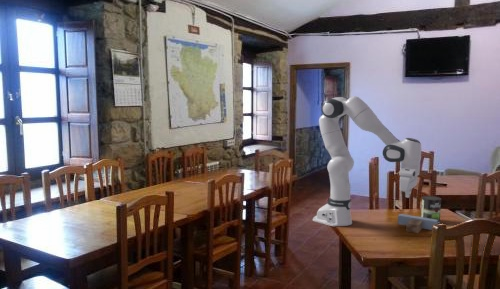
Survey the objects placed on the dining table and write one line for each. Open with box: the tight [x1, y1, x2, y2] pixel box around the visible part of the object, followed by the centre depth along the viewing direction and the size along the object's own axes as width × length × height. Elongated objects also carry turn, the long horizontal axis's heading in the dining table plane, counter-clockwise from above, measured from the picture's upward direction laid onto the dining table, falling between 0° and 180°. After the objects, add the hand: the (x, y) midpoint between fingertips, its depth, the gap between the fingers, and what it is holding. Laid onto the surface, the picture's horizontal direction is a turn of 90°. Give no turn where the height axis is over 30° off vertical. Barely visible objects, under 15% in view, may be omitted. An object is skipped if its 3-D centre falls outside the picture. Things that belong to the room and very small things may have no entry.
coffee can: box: [420, 195, 442, 224], centre depth 231 cm, size 10×10×14 cm
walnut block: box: [405, 219, 423, 234], centre depth 216 cm, size 6×10×4 cm, turn 145°
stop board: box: [397, 213, 438, 231], centre depth 222 cm, size 20×4×5 cm, turn 54°
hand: (407, 197), depth 202 cm, fingers closed
